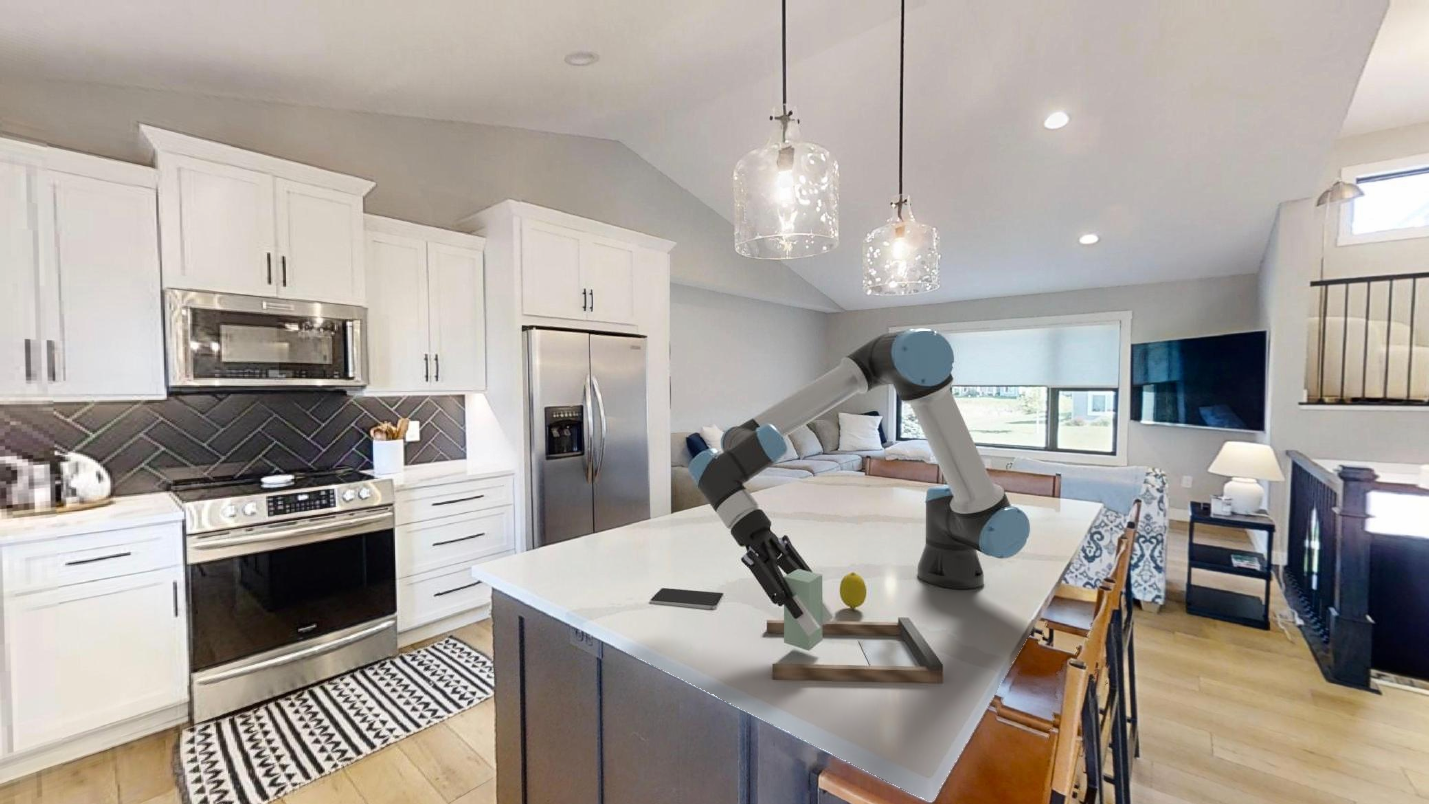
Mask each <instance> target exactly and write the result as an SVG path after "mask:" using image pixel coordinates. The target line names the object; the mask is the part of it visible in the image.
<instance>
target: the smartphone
mask: <svg viewBox="0 0 1429 804" xmlns="http://www.w3.org/2000/svg"><path fill="white" fill-rule="evenodd" d="M724 595H725V594H724V592H719V591H718V592H717V591H708V590H707V591H706V590H695V589H693V590H691V589H680V588H667V587H666V588H665V587H661V588H660V589H659V590H658V591H657V592H656V593H655V594H654V595H653V596H652V597H651V599H650V603H651V604H654V605H656V604H657V605H665V606H677V607H687V608H693V609H694V608H695V609H703V610H704V609H705V610H717V609H718V608H719V606H720V604H721V602H722V601H723V599H724Z"/></svg>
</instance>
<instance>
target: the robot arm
mask: <svg viewBox="0 0 1429 804" xmlns="http://www.w3.org/2000/svg"><path fill="white" fill-rule="evenodd" d="M954 362H955V356H954V350H953V348H952V346H951V344H950V342H949V341H948V340H947V339H946V337H945V336H943V335H942V334H940V333H939V332H938V331H935V330H933V329H929V328H910V329H907V330H901V331H896V332H888V333H883V334H881V335H879V336H877V337H874V338H873V339H871V340H870V341H868V342H867V343H865V344H863V345H861V346H860V347H859V348H857V349H856V350H854V351H853V352H851V353H848V354H847V355H846V356H844V357H843V358H841V360H840V365H838V366H836V367H834V368H833V369H832V370H830V371H828V372H826V373H825V374H823V375H821V376H819V378H817V379H815V380H813V381H812V382H809V383H808V384H807V385H805V386H803V387H801V388H799V389H798V390H797V391H795V392H794V393H792V394H790V395H788V396H787V397H785V398H783V399H782V400H779V402H776V404H773V405H771V407H768V408H767V409H765V410H764V411H761V413H758V414H756V415H755V416H754V417H752V418H750V419H749V420H747V421H745V422H743V423H742V424H741V425H737V426H736V425H735V426H732V427H729V428H727V429H726V430H725V431H724V432H723V433H722V435H721V437H720V448H721V451H722V452H720V451H719V450H718V449H717V448H715V447H713V448H712V447H711V448H710V447H709V448H708V449H706V450H703V451H701V452H700V453H698V454H697V455H696V456H695V457H694V458H692V460H691V461H690V463H689V465H688V469H687V470H688V474H689V475H690V477H691V479H692V480H693V482H694V483H695V485H696V487H697V488H698V489H699V491H700V492H701V494H702V495H703V496H704V498H705V500H706V501H707V502H708V503H709V504H710V506H711V507H712V509H713V510H714V512H715V513H716V514H717V515H718V517H719V519H721V522H722V523H723V524H724V526H725V528H727V529H728V530H730V534H731V537H733V539H734V540H735V542H736V543H737V545H738V546H739V547H741V548H745V550H746V553H745V554H744V555H743V556H742V557H741V558H740V561H741V562H742V563H743V564H744V565H745V566H746V567H747V568H748V569H749V570H750V572H751V573H752V575H753V576H754V577H755V579H756V581H757V582H758V583H759V585H760V586H761V588H762V589H763V591H764V592H765V594H766V595H767V597H768V598H769V600H770V601H771V603H772V604H774V605H777V606H778V607H782V606H784V605H785V606H786V607H787V609H788V610H789V612H790V613H791V614H792V616H793V617H794V618H795V619H796V620H797V621H798V623H799V624H800V626H801V627H802V628H803V630H804V631H805V633H806V634H807V635H808V637H809V636H810V635H811V634H813V633H814V632H815V631H816V630H818V629H819V628H820V626H819V624H818V623H817V622H816V620H815V619H814V618H813V616H812V615H811V613H810V612H809V611H808V609H807V608H806V607H805V605H804V604H803V602H802V601H801V600H800V598H799V597H798V596H797V595H795V596H794V597H793V594H792V592H791V590H790V588H789V586H788V584H787V582H786V580H785V579H784V575H783V573H782V571H783V572H784V573H785V575H788V574H790V573H791V572H793V571H795V570H797V569H800V570H804V571H809V572H813V571H812V569H811V568H810V567H809V565H808V564H807V563H806V561H805V560H804V559H803V557H802V556H801V555H800V554H799V552H798V551H797V549H796V548H795V546H793V544H792V542H791V540H790V538H789V536H788V535H786V534H784V535H782V537H778V536H777V534H776V533H774V532H773V531H772V530H771V526H772V521H771V520H770V519H769V517H768V516H767V515H766V513H765V512H764V511H763V510H762V509H760V508H759V506H760V505H759V503H758V502H757V501H756V499H755V498H754V497H753V496H752V494H751V493H750V492H749V490H748V489H747V488H746V486H744V484H746V483H747V482H748V481H750V480H752V479H754V477H755V476H757V475H758V474H760V473H762V472H763V471H764V470H766V469H767V468H769V467H770V466H772V465H773V464H776V463H777V462H778V461H779V460H780V459H782V458H783V456H785V455H787V453H788V445H787V443H786V440H785V439H784V438H786V437H787V436H789V435H791V434H792V433H794V432H795V431H797V430H799V429H801V428H803V427H804V426H806V425H807V424H809V423H810V422H812V421H814V420H815V419H817V418H819V417H820V416H822V415H823V414H825V413H826V412H828V411H830V410H831V409H833V408H834V407H837V406H838V405H840V404H841V403H843V402H845V401H846V400H848V399H850V398H851V397H853V396H854V395H856V394H861V395H864V394H866V393H868V392H869V391H871V390H873V389H875V388H878V387H882V386H887V385H892V386H893V387H894V390H895V392H896V394H897V396H898V397H899V398H898V399H899V400H900V402H903V403H904V404H908V405H910V407H911V409H912V411H913V413H914V415H915V417H916V420H917V421H918V424H919V426H920V428H921V431H922V433H923V434H924V436H925V439H926V441H927V443H928V446H929V447H930V449H931V452H932V453H933V456H934V459H935V460H936V463H937V465H938V467H939V469H940V471H941V473H942V475H943V478H944V479H945V481H946V484H947V485H937V486H936V485H933V486H931V487H928V489H927V490H926V497H925V502H924V503H925V544H924V548H923V550H922V553H921V556H920V558H919V561H918V564H917V576H918V578H919V579H920V580H922V581H923V582H926V583H928V584H930V585H934V586H938V587H942V588H946V589H947V588H948V589H956V590H971V589H976V588H980V587H981V586H983V585H984V581H985V580H984V577H985V575H984V571H983V568H982V564H981V561H980V558H979V554H978V552H980V553H982V554H984V555H985V556H987V557H993V558H996V559H1001V560H1002V559H1008V558H1012V557H1014V556H1016V555H1017V554H1018V553H1020V552H1021V550H1022V549H1024V547H1025V545H1026V544H1027V540H1028V538H1029V536H1030V533H1031V524H1030V520H1029V518H1028V515H1027V514H1026V512H1024V511H1023V510H1021V509H1020V508H1018V507H1017V506H1012V505H1011V503H1010V501H1009V499H1008V496H1007V495H1006V492H1005V490H1004V488H1003V487H1002V486H1001V485H998V484H995V483H993V481H992V479H991V477H990V475H989V473H988V470H987V468H986V466H985V464H984V462H983V459H982V457H981V454H980V453H979V450H978V449H977V445H975V444H976V443H975V441H974V440H973V437H972V435H971V434H970V433H971V432H970V431H969V429H968V426H967V424H966V423H965V419H964V416H963V415H962V412H961V410H960V409H959V406H958V404H957V402H956V400H955V398H954V396H953V393H952V391H951V386H952V384H953V383H954V377H953V375H952V371H953V369H954V366H953V363H954ZM781 570H782V571H781ZM792 597H793V598H792ZM835 617H836V615H835V613H834V612H833V611H832V609H831V607H829V606H828V604H827V603H826V601H825V600H824V598H823V597H822V623H823V625H825V624H826V623H827V622H828V621H832V619H834V618H835Z"/></svg>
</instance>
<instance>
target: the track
mask: <svg viewBox="0 0 1429 804" xmlns="http://www.w3.org/2000/svg"><path fill="white" fill-rule="evenodd" d="M766 633H767V634H784V619H783V620H781V619H780V620H778V619H776V620H774V619H766ZM822 635H857V636H858V635H859V636H860V635H863V636H865V635H866V636H899V637H900V638H901V639H902V640H865V639H864V640H862V639H861V640H858V643H859V645H860V647H861V650H862V651H863V653H864V656H865V658H866V660H867V662H868V665H866V664H865V665H864V664H863V665H861V664H860V665H858V664H857V665H854V664H850V665H849V664H819V663H817V664H815V663H814V664H813V663H812V664H810V663H809V664H808V663H806V664H805V663H771V664H772V665H771V666H772V668H771V669H772V672H771V673H772V674H771V675H772V680H792V681H793V680H794V681H795V680H797V681H801V680H802V681H837V682H838V681H841V682H843V681H844V682H849V681H850V682H889V683H892V682H893V683H928V684H929V683H933V684H934V683H937V684H942V683H944V676H943V674H944V664H943V663H942V661H941V660H940V659H939V657H938V656H937V654H936V653H935V652H934V650H933V649H932V648H931V647H930V646H931V645H929V643H928V642H927V641H926V640H925V638H924V637H923V635H922V634H921V632H920V631H919V630H918V628H917V627H916V626H915V624H914V623H913V622H912V620H911V618H910V617H903V616H902V617H897V622H894V621H893V622H890V621H884V622H883V621H844V620H843V621H842V620H841V621H834V620H830V621H828V622H827V623H826V624H825V625H823V623H822Z"/></svg>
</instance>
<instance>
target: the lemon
mask: <svg viewBox="0 0 1429 804" xmlns="http://www.w3.org/2000/svg"><path fill="white" fill-rule="evenodd" d="M839 596H840V598H841V599H840V600H841V601H842V602H843V603H844V604H845V605H846V607H848V608H849V609H851V610H855V609H856V608H858V607H861V606H862V605H863V604H864V602H865V600H866V597H867V587H866V583H865V580H864V579H863V578H862V577H861V575H859V574H858V573H857V574H856V573H855V571H854V572H851V573H847V574H846V575H845V576H843V578H842V579H841V581H840V584H839Z"/></svg>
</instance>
